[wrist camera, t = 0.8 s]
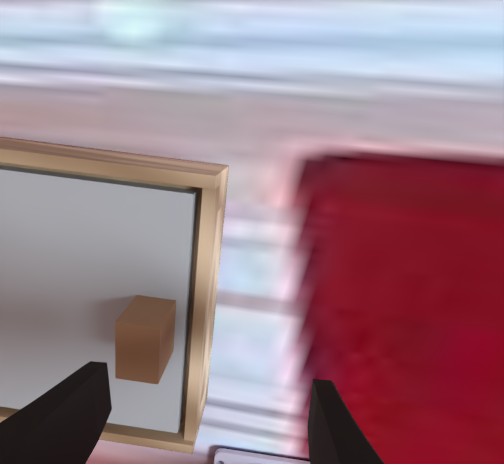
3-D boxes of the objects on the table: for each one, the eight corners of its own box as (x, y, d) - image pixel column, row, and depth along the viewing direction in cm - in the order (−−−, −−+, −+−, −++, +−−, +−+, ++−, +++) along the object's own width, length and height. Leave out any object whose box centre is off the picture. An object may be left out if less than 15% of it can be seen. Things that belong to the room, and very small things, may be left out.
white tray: (182, 419, 21) (163, 475, 17) (-27, 387, 21) (-83, 436, 18) (198, 190, 17) (178, 206, 13) (-62, 157, 17) (-144, 164, 14)
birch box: (206, 397, 24) (192, 453, 20) (11, 368, 24) (-43, 417, 20) (228, 165, 19) (215, 175, 15) (-15, 135, 20) (-92, 136, 16)
